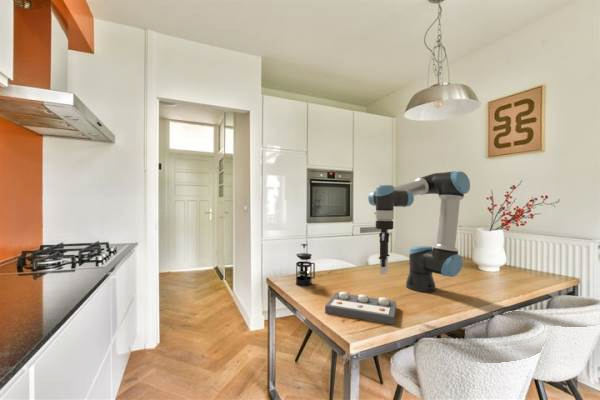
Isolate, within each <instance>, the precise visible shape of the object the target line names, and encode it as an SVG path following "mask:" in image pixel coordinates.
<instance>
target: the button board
mask: <svg viewBox="0 0 600 400" xmlns="http://www.w3.org/2000/svg"><path fill="white" fill-rule="evenodd" d="M324 306H325V307H324V309H325V310H324V311H325V312H324V313H326V314H332V315H336V316H343V317H349V318H354V319H360V320H366V321H370V322H371V321H372V322H378V323H383V324H387V325H388V324H389V325H395V318H396V313H397V300H391V299H389V306H384V305H379V298H375V297H369V296H368V303H364V302H358V295H354V294H349V295H348V300H344V299H339V292H335V293H334V295H332V297H331V298H330V299H329V300H328V302H327V303H326V304H325V305H324Z"/></svg>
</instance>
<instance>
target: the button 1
mask: <svg viewBox="0 0 600 400" xmlns="http://www.w3.org/2000/svg"><path fill="white" fill-rule="evenodd" d="M338 293H339V299H344V300H348V295H350V294H349V292H347V291H340V292H338Z"/></svg>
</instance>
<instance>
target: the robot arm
mask: <svg viewBox="0 0 600 400" xmlns="http://www.w3.org/2000/svg"><path fill="white" fill-rule="evenodd" d="M470 181H471V180H470V179H469V176H468V175H467V174H466V172H464V171H462V170H461V171H459V170H458V171H454V170H453V171H446V172H435V173H430V174H428V175H425V176H422V177H418V178H416V179H415V180H414V181H411V182H408V183H407V182H406V183H404V184H400V185H397V186H396V185H395V186H394V185H392V184H387V185H386V184H381V185H380V184H379V185H377V186H376V189H375V191H370V193H369V194H368V203H369V204H370V205H371V206H373V207H374V206H375V212H374V215H375V219H376V220H375V229H378V230H380V232H379V235H378V236H379V257H378V260H379V275H385V276H386V275H387V272H389V257H390V254H389V243H390V242H389V241H390V240H389V239H390V232H389V231H390V230H393V229H394V221H393V220H394V211H395V210H394V208H395V207H398V208H399V207H401V208H405V207H410V206H412V205H413V203H414V202H415V196H418V195H420V196H424V195H438V198H439V199H440V208H439V218H438V226H437V237H436V244H435V245H434V246H433V247H432V246H428V245H425V246H424V245H423V246H411V247H410V248H409V254H408V255H409V257H408V259H409V273H408V276H407V279H406V281H405V287H406V288H408V289H409V290H412V291H416V292H420V293H431V292H436V283H435V282H436V281H435V279H434V276H433V274H438V275H441V276H443V277H450V278H452V277H453V278H454V277H456V276H458V275H459V274H460V272H461V270H462V268H463V264H464V261H463V257H462V256H461V255H460V254H459V250H458V249H457V247H456V244H457V234H458V233H457V232H458V225H459V224H458V223H459V212H460V202H461V201H462V200H463V199H464V197H465V194H467V193H469V191H470V190H471V189H470V188H471V182H470Z"/></svg>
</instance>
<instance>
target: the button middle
mask: <svg viewBox="0 0 600 400" xmlns="http://www.w3.org/2000/svg"><path fill="white" fill-rule="evenodd" d="M357 296H358V302H364V303H368V297H369V295H367V294H362V293H361V294H358V295H357Z"/></svg>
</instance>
